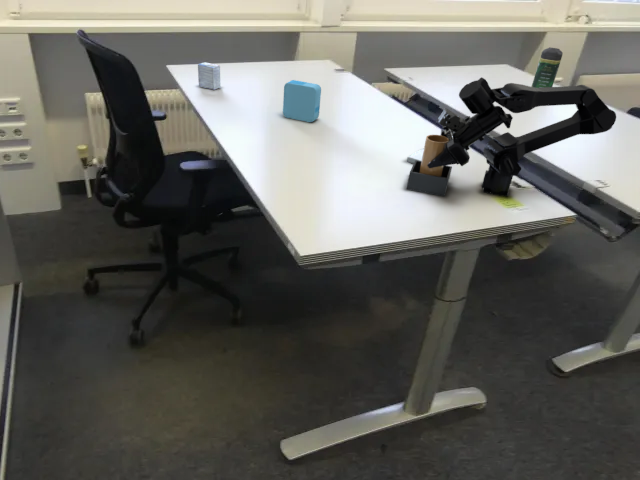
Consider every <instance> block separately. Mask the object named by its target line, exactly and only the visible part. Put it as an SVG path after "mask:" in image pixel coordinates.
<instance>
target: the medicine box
mask: <svg viewBox="0 0 640 480" xmlns="http://www.w3.org/2000/svg"><path fill="white" fill-rule="evenodd" d="M197 74H198V75H197V76H198V77H197V78H198V87H201V88H205V89H210V90H217V89H220V88H221V66H220V64H219V65H218V64H215V63H209V62H201V63H198V64H197Z"/></svg>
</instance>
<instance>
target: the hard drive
mask: <svg viewBox="0 0 640 480" xmlns="http://www.w3.org/2000/svg"><path fill="white" fill-rule="evenodd" d="M423 151H424V147H423V148H421V149H420V150H418V151H416V152H414V153H412V154H411V155H409V156H407V158H406V161H407V162H408V163H410V164H412V165H413V164H414V162H415V160H418V161H422V156H423Z"/></svg>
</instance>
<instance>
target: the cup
mask: <svg viewBox="0 0 640 480" xmlns="http://www.w3.org/2000/svg"><path fill="white" fill-rule="evenodd" d="M448 142H449V139H448V138H447V137H445V136H441V134H429V135H426V137H425V142H424V146H423V148H424V151H423V156H422V161H421V166H420V171H419V173H422V174H428V175H433V176H439V177H441V176H442V171H443V167H444V166H439V167H434V168H429V167H428V166H427V165H428V163H430V162H431V161H432V160H433V159H434V158H435V157H436V156H437V155H438V154H439V153H441V152H442V151H443V147H444V143H446V145H447V144H448Z"/></svg>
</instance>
